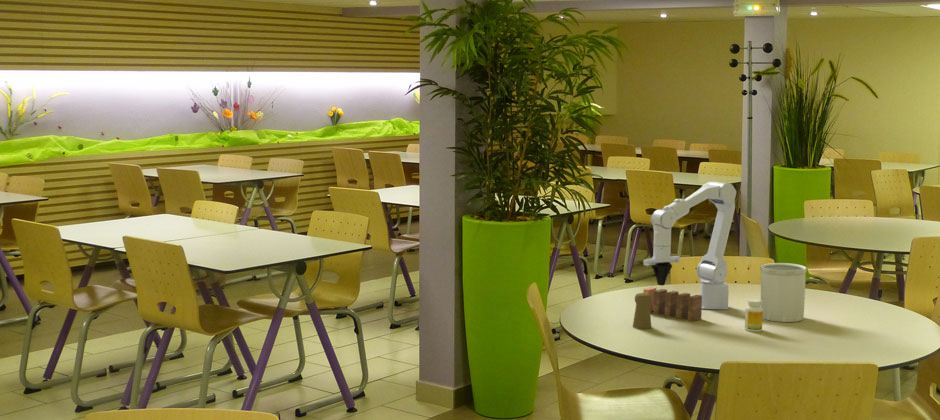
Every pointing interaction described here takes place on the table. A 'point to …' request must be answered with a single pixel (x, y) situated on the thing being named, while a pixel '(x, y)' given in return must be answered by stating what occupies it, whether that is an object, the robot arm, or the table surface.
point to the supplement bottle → (753, 316)
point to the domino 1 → (651, 293)
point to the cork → (642, 311)
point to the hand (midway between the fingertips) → (661, 284)
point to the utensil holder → (783, 291)
